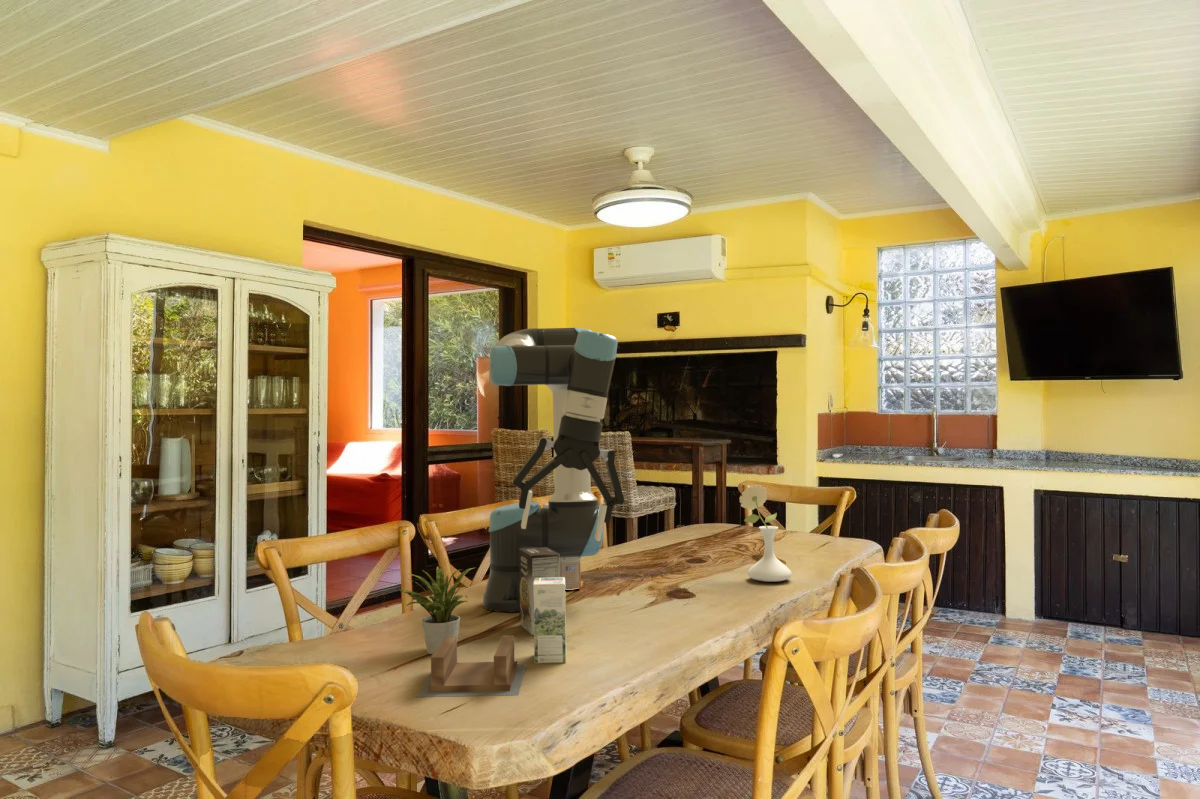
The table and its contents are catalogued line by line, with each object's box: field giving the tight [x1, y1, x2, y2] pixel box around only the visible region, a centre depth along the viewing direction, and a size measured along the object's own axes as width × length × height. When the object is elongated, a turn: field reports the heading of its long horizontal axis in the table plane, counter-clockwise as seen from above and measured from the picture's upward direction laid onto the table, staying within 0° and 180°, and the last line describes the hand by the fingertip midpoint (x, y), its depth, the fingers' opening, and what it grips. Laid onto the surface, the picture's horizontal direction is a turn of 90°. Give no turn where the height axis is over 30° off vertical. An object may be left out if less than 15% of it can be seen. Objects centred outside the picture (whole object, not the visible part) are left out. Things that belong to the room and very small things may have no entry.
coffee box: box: [519, 547, 560, 636], centre depth 168 cm, size 9×6×16 cm
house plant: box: [399, 566, 477, 655], centre depth 154 cm, size 14×14×16 cm
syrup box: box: [533, 577, 567, 665], centre depth 146 cm, size 6×6×14 cm
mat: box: [415, 663, 528, 698], centre depth 135 cm, size 16×16×1 cm
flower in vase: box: [739, 483, 793, 583], centre depth 211 cm, size 13×11×25 cm
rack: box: [428, 635, 518, 692], centre depth 135 cm, size 13×12×6 cm
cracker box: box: [542, 502, 582, 589], centre depth 209 cm, size 14×6×21 cm, turn 22°
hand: (560, 533), depth 146 cm, fingers open, 13 cm apart
